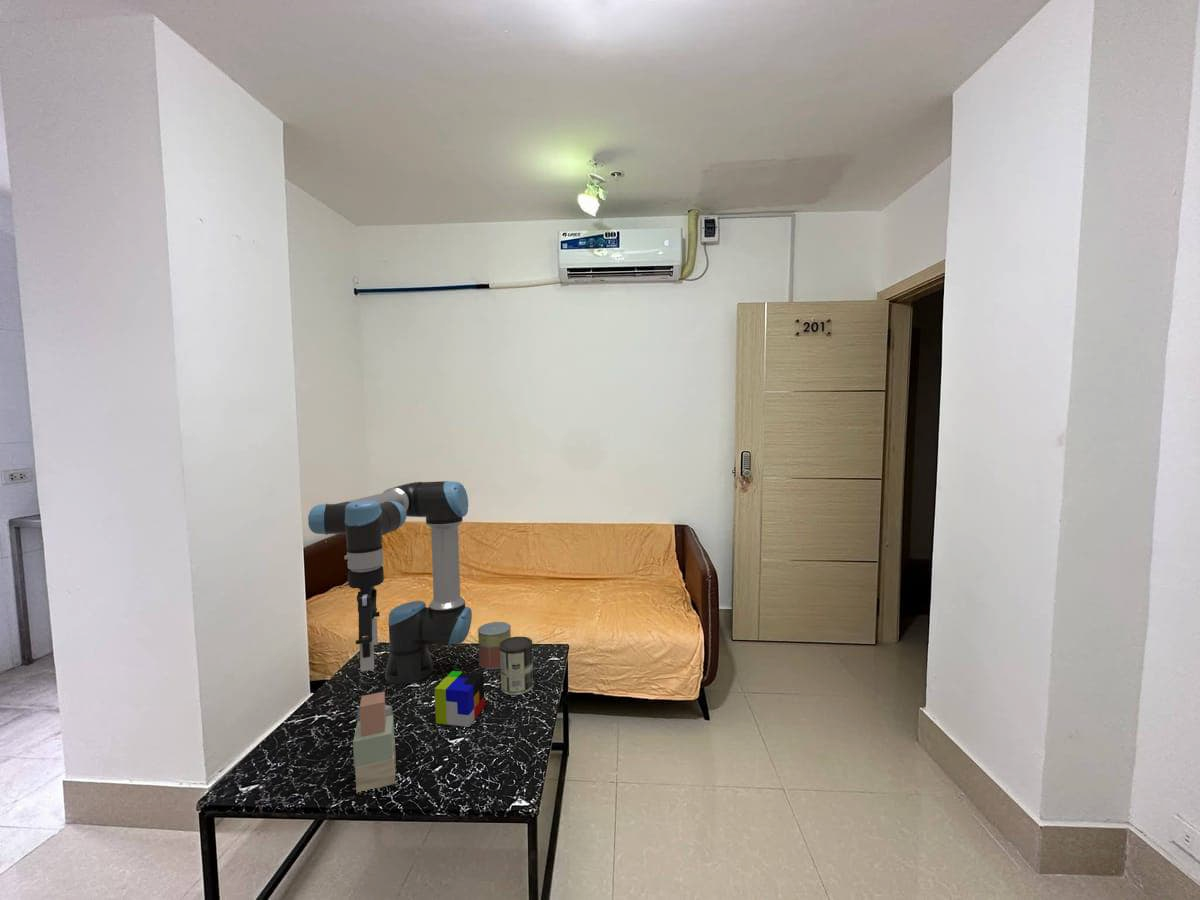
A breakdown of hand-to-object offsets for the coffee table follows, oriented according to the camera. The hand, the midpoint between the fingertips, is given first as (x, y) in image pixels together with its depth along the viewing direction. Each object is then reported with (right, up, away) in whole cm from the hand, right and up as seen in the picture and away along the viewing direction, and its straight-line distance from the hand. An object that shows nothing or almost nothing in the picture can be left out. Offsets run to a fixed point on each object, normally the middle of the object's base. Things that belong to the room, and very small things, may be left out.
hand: (369, 656), depth 116 cm
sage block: (+1, -23, 0) cm, 23 cm away
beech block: (+1, -29, +1) cm, 29 cm away
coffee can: (+28, -27, +40) cm, 56 cm away
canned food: (+17, -26, +58) cm, 66 cm away
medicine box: (-5, -28, +15) cm, 33 cm away
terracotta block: (+1, -17, 0) cm, 17 cm away
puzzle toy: (+14, -28, +25) cm, 40 cm away
